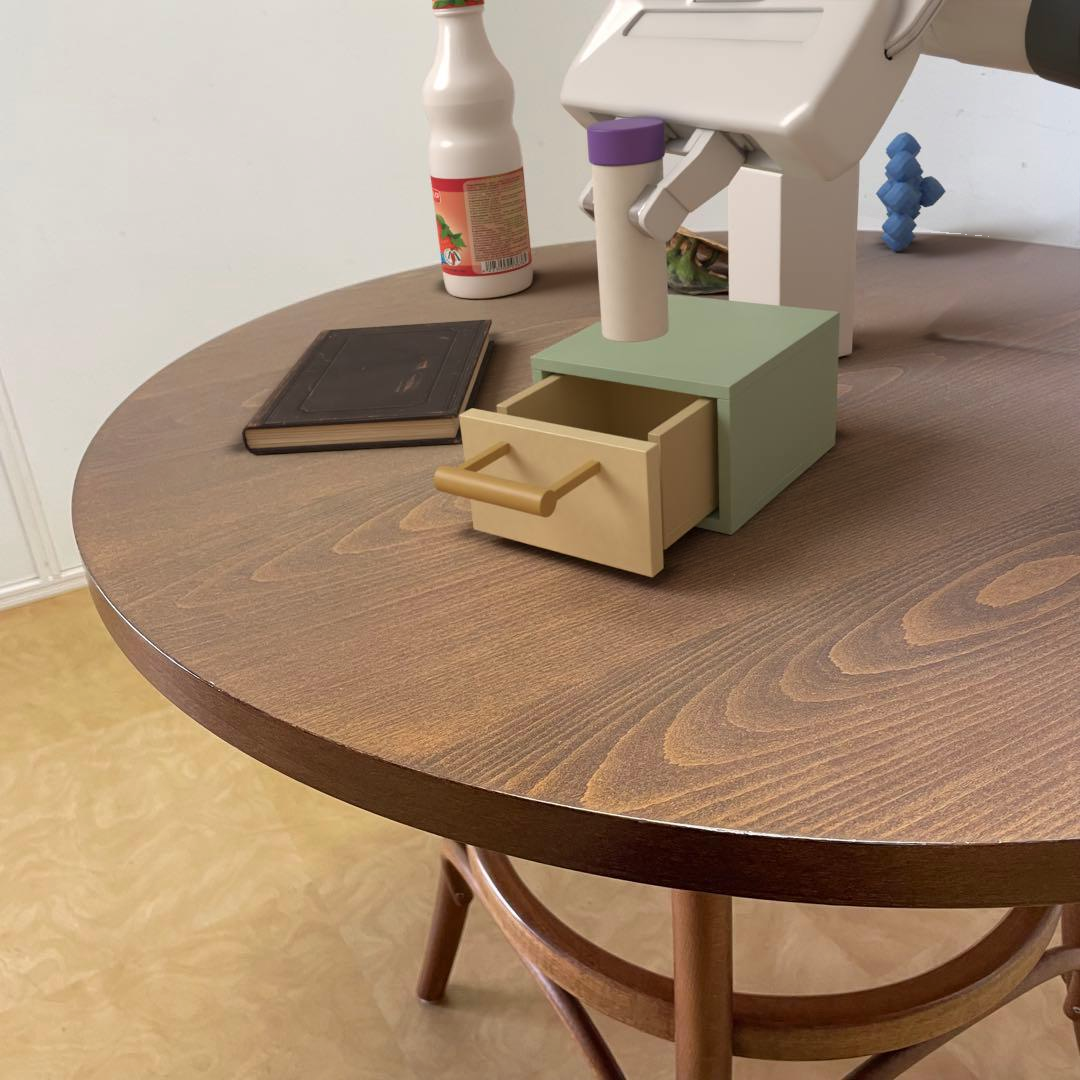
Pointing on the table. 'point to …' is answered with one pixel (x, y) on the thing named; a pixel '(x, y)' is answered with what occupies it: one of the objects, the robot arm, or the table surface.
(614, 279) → the glue stick
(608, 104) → the robot arm
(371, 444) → the hardcover book
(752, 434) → the cabinet
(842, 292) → the milk carton
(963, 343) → the table surface
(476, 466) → the drawer
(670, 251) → the green animal figurine
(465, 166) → the fruit juice
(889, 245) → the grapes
